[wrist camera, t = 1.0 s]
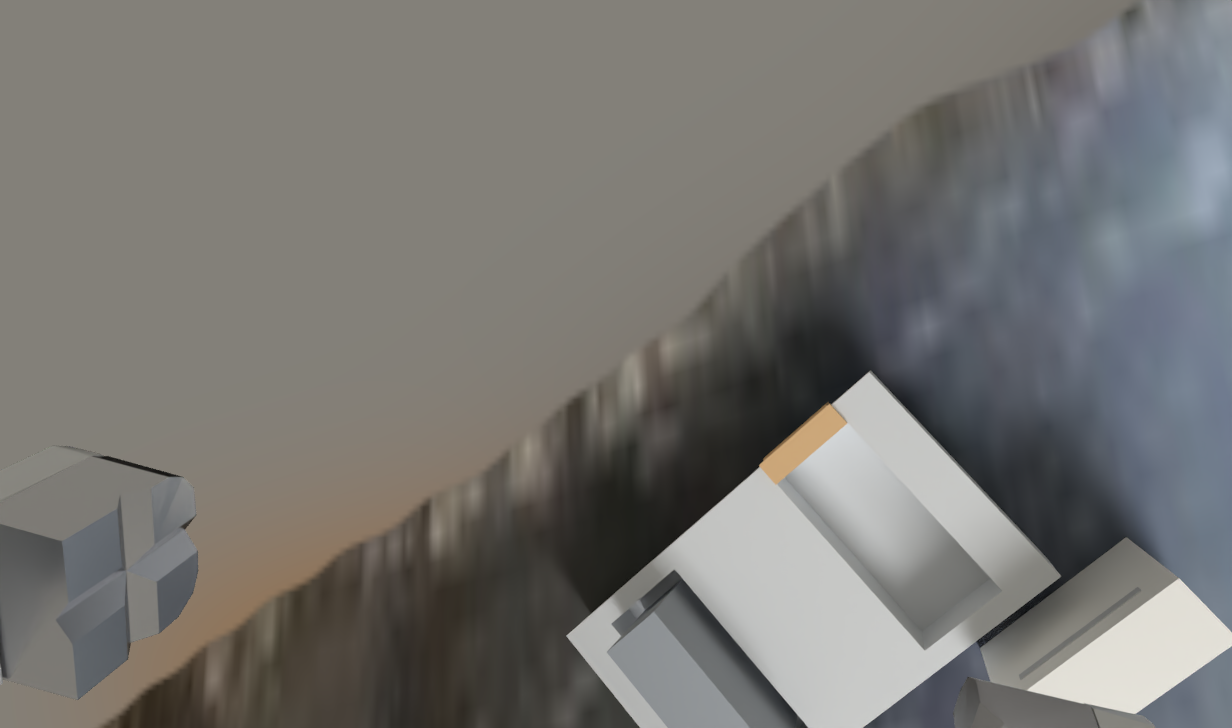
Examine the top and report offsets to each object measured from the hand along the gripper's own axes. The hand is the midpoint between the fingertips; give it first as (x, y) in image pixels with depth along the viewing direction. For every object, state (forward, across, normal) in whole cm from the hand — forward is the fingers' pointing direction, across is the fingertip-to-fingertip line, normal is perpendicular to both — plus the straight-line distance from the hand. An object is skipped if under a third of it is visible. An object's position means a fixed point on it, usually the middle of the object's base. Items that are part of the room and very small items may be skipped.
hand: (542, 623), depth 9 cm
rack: (+34, +5, -20) cm, 40 cm away
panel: (+34, +17, -18) cm, 42 cm away
